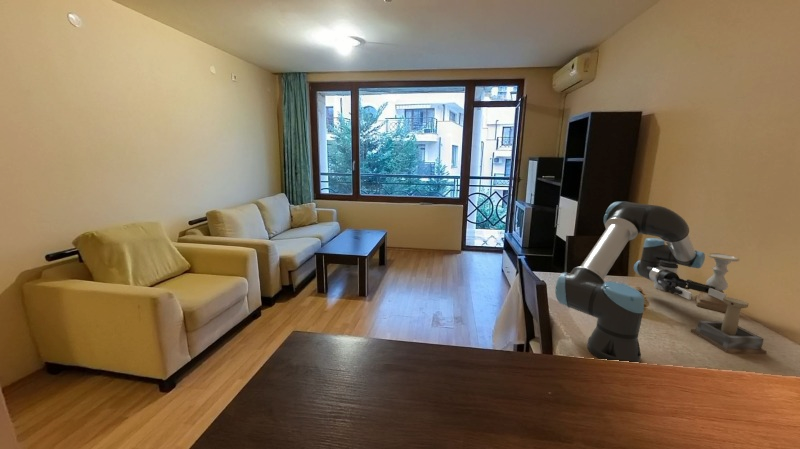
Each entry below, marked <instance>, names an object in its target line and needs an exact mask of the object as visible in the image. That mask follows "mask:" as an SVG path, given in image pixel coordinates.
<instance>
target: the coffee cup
mask: <svg viewBox="0 0 800 449" xmlns="http://www.w3.org/2000/svg"><path fill="white" fill-rule="evenodd" d="M660 267H662V268H665V269H667V270H669V271H672V272H674V273H676V274H677V271H678V269H679V264H674V263H670V262H666V261H661V262H660ZM653 283H654V285H653V287H654V288H655V289H657V290H659V291H663V292H666V291H665V290H664V289H663V288H662V286H661V285H659V284H656V283H655V282H653Z"/></svg>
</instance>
